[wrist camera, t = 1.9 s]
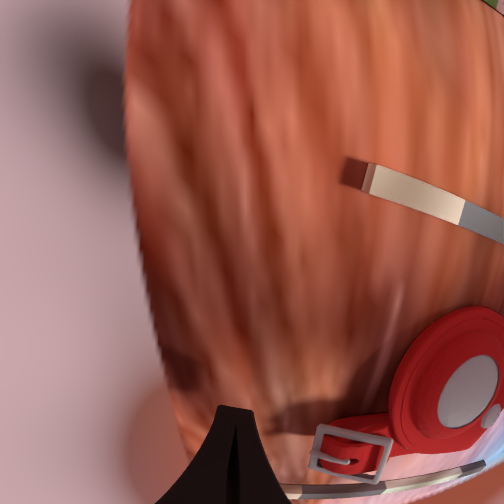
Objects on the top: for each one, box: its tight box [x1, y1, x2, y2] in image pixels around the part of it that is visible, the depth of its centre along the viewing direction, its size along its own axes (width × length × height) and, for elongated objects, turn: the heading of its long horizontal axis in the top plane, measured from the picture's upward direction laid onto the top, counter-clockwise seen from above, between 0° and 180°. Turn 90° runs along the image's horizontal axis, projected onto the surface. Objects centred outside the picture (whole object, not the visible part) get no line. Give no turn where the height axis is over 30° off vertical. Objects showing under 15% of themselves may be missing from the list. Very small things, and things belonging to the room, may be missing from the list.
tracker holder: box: [308, 306, 504, 485], centre depth 12 cm, size 12×4×10 cm
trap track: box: [280, 163, 504, 499], centre depth 13 cm, size 24×21×1 cm
